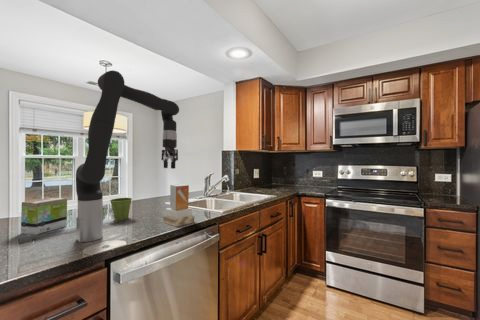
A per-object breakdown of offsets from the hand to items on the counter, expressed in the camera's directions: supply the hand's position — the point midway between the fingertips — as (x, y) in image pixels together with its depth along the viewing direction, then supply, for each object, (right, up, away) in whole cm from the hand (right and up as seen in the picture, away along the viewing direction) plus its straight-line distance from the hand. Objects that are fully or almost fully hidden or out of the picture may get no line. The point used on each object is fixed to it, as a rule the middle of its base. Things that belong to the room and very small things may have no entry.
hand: (169, 168), depth 132 cm
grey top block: (+5, -26, 0) cm, 27 cm away
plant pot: (-30, -30, +7) cm, 43 cm away
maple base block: (+6, -30, -1) cm, 31 cm away
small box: (+6, -22, -1) cm, 23 cm away
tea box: (-57, -30, -15) cm, 66 cm away
